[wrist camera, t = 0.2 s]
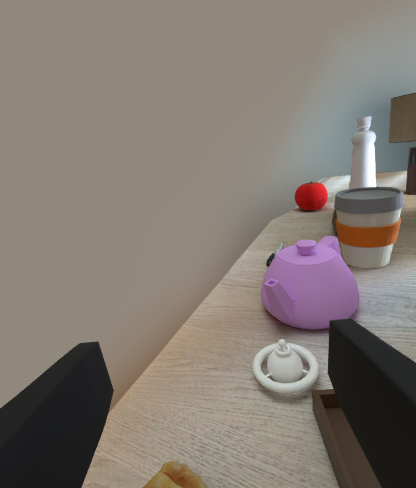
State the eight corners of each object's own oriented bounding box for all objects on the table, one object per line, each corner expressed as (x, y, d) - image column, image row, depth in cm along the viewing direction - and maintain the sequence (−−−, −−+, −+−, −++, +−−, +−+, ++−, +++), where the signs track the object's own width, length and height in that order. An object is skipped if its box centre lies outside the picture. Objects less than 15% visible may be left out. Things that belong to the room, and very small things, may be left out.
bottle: (356, 196, 119) (357, 118, 109) (379, 197, 112) (383, 114, 102) (344, 201, 114) (345, 120, 104) (368, 202, 107) (371, 116, 97)
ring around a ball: (329, 401, 32) (309, 351, 39) (326, 360, 30) (306, 316, 38) (257, 407, 33) (251, 357, 40) (250, 368, 31) (246, 324, 39)
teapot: (298, 273, 62) (296, 219, 58) (378, 291, 51) (382, 226, 47) (232, 324, 48) (223, 258, 44) (323, 364, 37) (321, 281, 33)
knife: (283, 246, 78) (282, 239, 77) (285, 246, 78) (285, 239, 77) (266, 269, 66) (266, 261, 66) (269, 269, 66) (269, 261, 65)
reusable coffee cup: (323, 256, 68) (322, 194, 63) (370, 245, 70) (372, 184, 65) (359, 277, 57) (361, 203, 52) (414, 264, 58) (421, 191, 53)
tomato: (326, 212, 103) (326, 183, 99) (293, 213, 108) (292, 186, 104) (328, 204, 113) (328, 177, 109) (298, 206, 118) (296, 180, 114)
